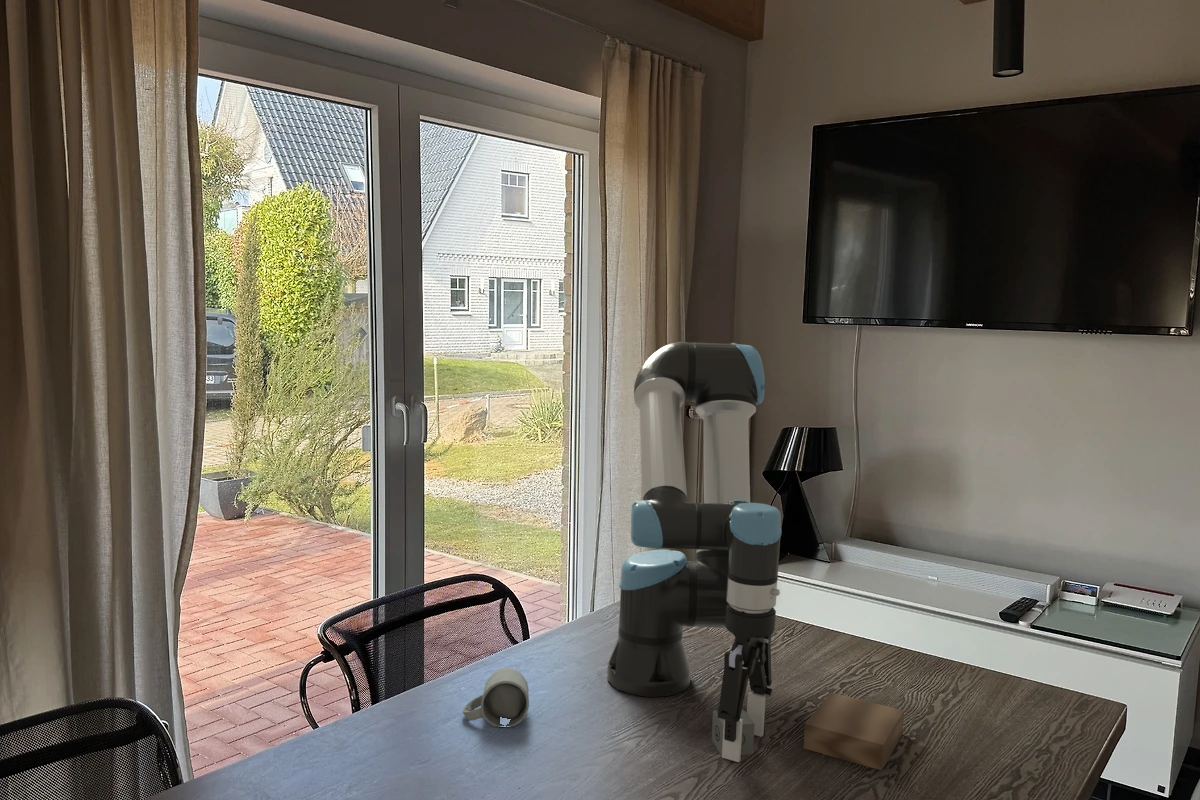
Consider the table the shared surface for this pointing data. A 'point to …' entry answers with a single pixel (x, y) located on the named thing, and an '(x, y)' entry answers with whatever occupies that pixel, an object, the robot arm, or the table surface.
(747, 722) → the dice cube
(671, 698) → the table surface
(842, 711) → the brown flat block
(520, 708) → the ceramic mug
